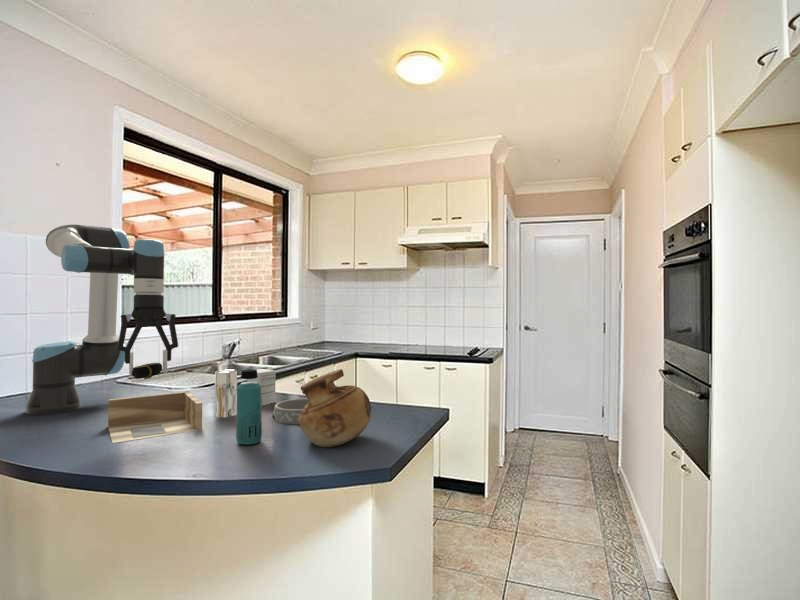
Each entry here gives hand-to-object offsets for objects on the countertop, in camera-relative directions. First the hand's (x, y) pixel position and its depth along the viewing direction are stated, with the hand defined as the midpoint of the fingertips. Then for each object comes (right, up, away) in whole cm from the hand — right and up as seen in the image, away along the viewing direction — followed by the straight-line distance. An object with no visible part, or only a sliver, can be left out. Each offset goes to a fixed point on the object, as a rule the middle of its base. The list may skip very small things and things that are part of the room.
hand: (148, 373), depth 129 cm
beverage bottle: (+33, -17, -11) cm, 38 cm away
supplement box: (+21, -17, +35) cm, 45 cm away
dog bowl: (+40, -18, +16) cm, 47 cm away
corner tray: (0, -17, +4) cm, 17 cm away
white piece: (+15, -17, +18) cm, 29 cm away
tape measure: (+2, -1, +1) cm, 2 cm away
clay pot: (+55, -17, -10) cm, 58 cm away
